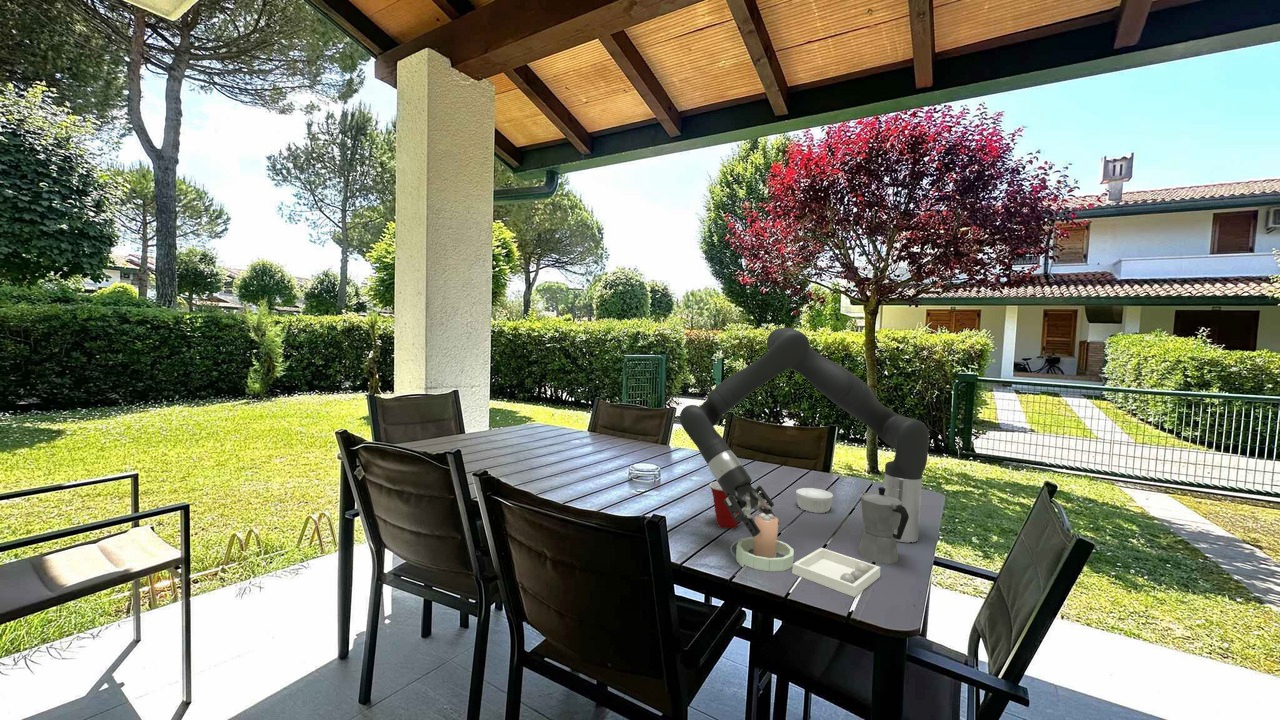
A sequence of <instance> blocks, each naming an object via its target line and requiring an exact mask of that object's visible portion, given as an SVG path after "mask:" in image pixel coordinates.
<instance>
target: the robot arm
mask: <svg viewBox="0 0 1280 720" xmlns="http://www.w3.org/2000/svg"><path fill="white" fill-rule="evenodd" d="M766 348H767V352H766V353H764V354H763V355H762V356H761V357H759V359H757V360H755V361H754V362H753V363H751V364H750V365H748V366H746V367H744V368H742V369H740V370H739V371H737V372H734V373H733V374H731V375H730V376H728V377H727V378H726V379H724V380H723V381H722V382H719V384H718V385H717V386H715V387H714V388H713V389H711V391H710V392H709V393H708V394H707V397H706V400H705V401H704V402H703V403H702V404H701V405H699V406H698V405H695V404H689V405H686V406H684V408H683V409H681V411H680V414H679V422H680V425H681V427H682V428H683V430H684V432H685V433H686V434H687V435H688V437H689V438H690V440H691V441H692V442H693V443H694V445H695V446H696V447H697V449H698V451H699V453H700V455H701V456H702V458H703V459H704V461H705V463H706V464H707V467H709V470H710V471H711V474H712V476H713V477H714V478H715V480H716V481H717V482H718V483H719V485H720V486H721V488H722V490H723V491H724V493H725V494H726V496H729V497H728V498H726V499H725V500H724V503H725V504H726V506H727V508H728V510H729V511H730V513H731V515H732V517H733V518H734V520H735V521H736V522H737V523H738V524H739V522H741V524H744V526H745V527H746V529H747V531H748V532H749V534H750V535H751V537H755V536H757V535H758V534H759V533H760V530H759V528H758V526H757V525H756V523H755V519H753V518H752V516H751V510H754V511H757V512H758V511H759V512H760V513H764V514H766V515H768V514H773V515H774V516H775V517H776V515H775V514H774V512H773V511H772V509H773V507H774V506H775V504H774V502H773V501H772V499H771V497H769V495H768V494H767V492H766V491H765V490H764V488H763V487H762V486H761V485H758V486H757V487H755V488H754V487H753V486H752V485H751V484H752V481H753V480H752V477H751V476H750V474H749V473H748V472H747V470H746V468H745V467H744V466H743V465H742V463H741V461H740V460H739V458H738V457H737V455H736V454H735V453H734V452H733V451H732V449H731V448H730V446H729V445H728V444H727V442H726V440H725V439H724V438H723V437H722V435H720V433H718V431H717V430H716V428H715V426H716V424H718V423H719V421H720V420H721V419H722V418H723V416H724V415H725V414H726V413H728V412H729V411H730V410H732V409H733V408H734V407H736V406H737V405H738V404H739V403H741V402H742V401H743V400H744V399H745V398H747V397H748V396H749V395H750V394H752V393H753V392H755V391H756V390H757V389H759V388H760V387H761V386H763V385H764V384H766V383H768V382H769V381H771V380H772V379H773V378H776V377H777V376H778V375H780V374H782V373H783V372H785V371H787V370H788V369H791V370H794V371H795V372H797V373H799V374H800V375H801V376H802V377H804V378H805V379H806V380H807V381H808V382H809V383H810V384H811V385H812V386H813V387H814V388H816V390H818V391H819V392H820V393H821V394H822V395H824V396H825V397H826V399H827V398H828V400H830V401H831V402H832V403H834V404H835V405H836V406H838V408H841V409H842V410H843V411H845V412H847V413H848V414H849V415H851V416H852V417H854V418H855V419H857V420H859V421H860V422H862V423H864V424H865V425H866V426H867V427H868V428H870V429H871V430H872V431H873V433H875V434H876V435H877V436H878V437H879V438H880V439H881V440H882V441H883V442H884V443H885V444H887V445H888V446H890V447H891V448H893V449H895V453H894V454H895V456H894V459H893V460H891V461H887V462H886V463H885V464H884V465H885V466H884V480H883V481H884V482H883V488H885V489H886V490H885V493H884V495H887V496H890V497H894V498H897V499H898V500H900V501H901V502H902V503H903V504H902V506H904V507H905V508H906V511H907V513H908V515H909V519H908V522H907V524H906V527H905V529H904V532H903V535H902V537H901V539H900V540H898V539H896V542H899V543H907V544H909V543H910V542H912V543H916V541H917V542H918V540H919V535H920V519H921V517H920V516H921V502H922V483H923V473H924V471H925V470H926V466H927V462H928V454H929V445H930V433H929V432H930V431H929V429H928V426H927V425H926V424H925V423H924V422H923V421H920V420H918V419H915V418H912V417H911V418H910V417H907V416H903V415H900V414H899V413H897V412H894V411H893V410H892V409H890V408H888V407H887V406H885V405H884V404H882V402H880V401H879V399H878V398H877V396H876V395H875V394H874V391H872V389H871V388H870V387H869V385H867V384H866V383H865V382H864V381H863V380H862V379H861V378H859V377H858V376H856V375H855V374H854V373H852V372H851V371H849V370H848V369H847V368H845V367H843V366H841V365H840V364H838V363H836V362H835V361H832V360H830V359H828V358H826V357H824V356H823V355H821V354H819V353H818V352H817V351H815V349H813V348H812V347H811V345H810V340H809V338H808V337H807V335H806V334H805V333H803V332H802V331H799V330H796V329H793V328H790V327H779V328H776V329H774V330H772V331H771V332H770V333H769V335H768V337H767V338H766ZM736 510H737V512H738V514H739V515H738V516H737V514H736V513H735V511H736ZM900 519H901V514H900V516H899V521H898V525H897V528H898V526H899V524H900ZM779 525H780V522H779V520H778V526H779ZM894 534H897V529H895V530H894Z"/></svg>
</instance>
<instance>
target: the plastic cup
mask: <svg viewBox="0 0 1280 720" xmlns="http://www.w3.org/2000/svg"><path fill="white" fill-rule="evenodd" d="M709 488H710V490H711V493H712V497H713V503H714V511H715V519H716V525H717V526H718V525H719V526H718V527H720V528H724V529H736V528H737V527H738V525H739V522H738V523H737V522H736V521H735V520H734V518H733V517H732V515H731V513H730V511H729V510H728V508H727V506H726V504H725V503H724V500H725V499H726V498H728V497H729V496H726V494H725V493H724V491H723V490H722V488H721V486H720V485H719V483H718V482H717V480H716V481H712V482H710V483H709ZM735 513H736V514H737V516H738V515H739V514H738V512H737V510H736V511H735Z"/></svg>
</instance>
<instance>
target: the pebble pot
mask: <svg viewBox="0 0 1280 720" xmlns="http://www.w3.org/2000/svg"><path fill="white" fill-rule="evenodd" d="M773 514H774V513H773ZM773 514H768V515H766V514H764V513H761V512H760V513H759V514H756V515H755V516H754V522H755V523H756V525H757V526H758V528H759V530H760V533H759V534H758V535H757V536H755V537H754V548H753V549H752V551H753V552H752V554H753V555H755V556H760V557H766V558H777V540H778V535H779V534H778V532H779V525H778V521H779V517H776V515H775V514H774V515H775V516H774V515H773Z"/></svg>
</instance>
